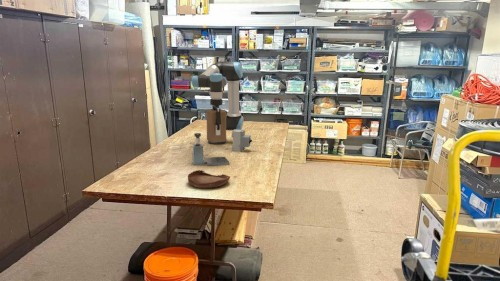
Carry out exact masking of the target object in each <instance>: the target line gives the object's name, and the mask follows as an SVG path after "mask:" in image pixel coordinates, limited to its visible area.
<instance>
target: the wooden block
mask: <svg viewBox="0 0 500 281" xmlns="http://www.w3.org/2000/svg"><path fill="white" fill-rule="evenodd" d="M220 115H221V124H220V135H216V125H215V124H216V111H215V110H213V108H209V109H206V140H207V141H208V140H209V141H210V142H212V143H215V142H225V141H226V139H227V130H226V116H227V111H226V110H225V109H221V108H220Z"/></svg>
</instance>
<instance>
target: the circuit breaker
mask: <svg viewBox="0 0 500 281" xmlns="http://www.w3.org/2000/svg"><path fill="white" fill-rule="evenodd" d="M231 138H232V144H231V152H237V153H238V152H239V153H243V152H244V151H245V149H246V148H249V147H250V146H251V143H252V142H253V139H251V138H252V136H251V134H246V130H245V129H241V130H235V129H234V130H233V131H232V130H231Z"/></svg>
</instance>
